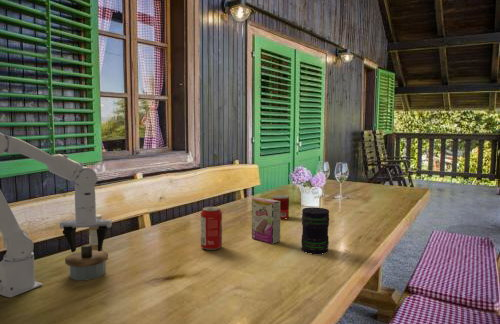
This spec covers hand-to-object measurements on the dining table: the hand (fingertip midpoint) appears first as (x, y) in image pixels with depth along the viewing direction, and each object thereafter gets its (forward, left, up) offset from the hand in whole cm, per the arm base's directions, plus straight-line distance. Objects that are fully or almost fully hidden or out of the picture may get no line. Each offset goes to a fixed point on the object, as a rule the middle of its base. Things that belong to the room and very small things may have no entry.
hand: (86, 250), depth 120 cm
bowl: (0, 0, -7) cm, 7 cm away
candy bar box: (+57, -34, -7) cm, 67 cm away
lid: (0, 0, -3) cm, 4 cm away
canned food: (+95, -25, -7) cm, 99 cm away
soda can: (+39, -20, -7) cm, 44 cm away
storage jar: (+54, -55, -7) cm, 77 cm away
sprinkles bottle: (+16, +14, -7) cm, 23 cm away
